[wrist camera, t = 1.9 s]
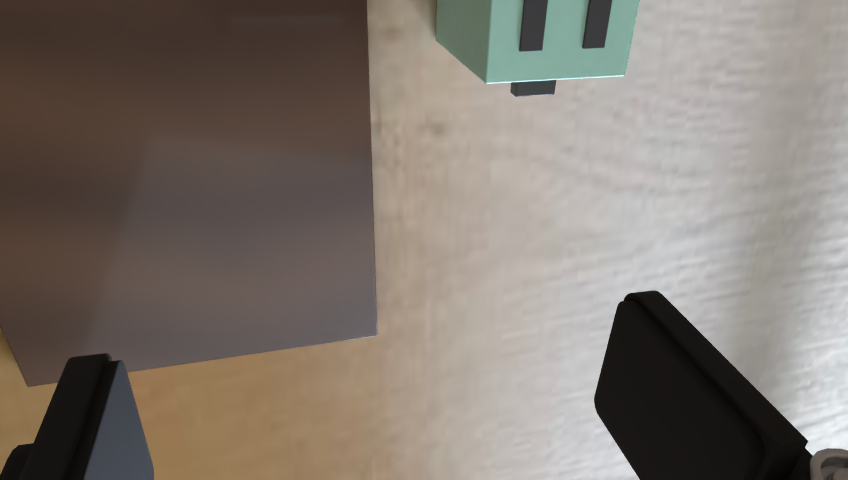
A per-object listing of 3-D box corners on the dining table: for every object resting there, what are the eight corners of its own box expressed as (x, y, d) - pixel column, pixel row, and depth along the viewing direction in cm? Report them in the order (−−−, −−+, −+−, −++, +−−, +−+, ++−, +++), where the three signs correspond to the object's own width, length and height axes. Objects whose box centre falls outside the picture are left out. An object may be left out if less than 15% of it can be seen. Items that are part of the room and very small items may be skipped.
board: (-150, -50, 22) (-169, -47, 21) (361, -52, 26) (365, -50, 25) (34, 372, 33) (27, 387, 32) (374, 323, 37) (377, 336, 36)
